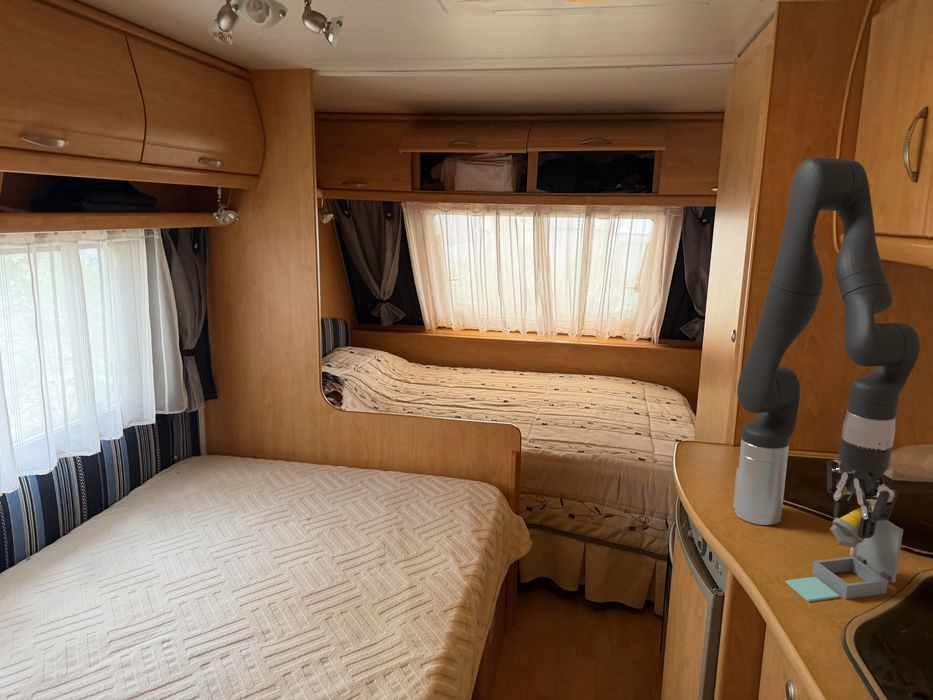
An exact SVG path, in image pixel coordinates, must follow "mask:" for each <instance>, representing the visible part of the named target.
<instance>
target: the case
mask: <svg viewBox="0 0 933 700" xmlns="http://www.w3.org/2000/svg"><path fill="white" fill-rule="evenodd" d="M871 511H872V510H871V509H870V510H869V512H871ZM903 534H904V529H903V528H901V527H899V526H897V525H896V524H894V523H893V522H891V521H889V520H881V521H876V527H875V533H874V535H873V536H872V537H871V538H865V539H864V540H863V541H862V543H858V544H857V545H856V546H855V548H853V547H850V555H849V556H846V557H845V556H844V557H837V558H829V559H821V560H819V559H818V560H814V561H813V564H812V565H813V566H812V575H814V577H816V578H818V579H819V580H820V581H821V582H823V583H824V584H825V585H827V586H828V587H829V588H830V589H832V590H833V591H834V592H836V593H837V594H838V595H839V596H841V597H842V598H843V599H845V600H848V599H849V600H850V599H857V598H864V597H871V596H878V595H885V594H886V595H887V592H888V585H889V582H890V583H893V584H895V583H896V582H897V581H896V580H897V576H898V575H897V573H898V567H899V563H900V562H899V560H900V555H901V550H902V540H903V537H904V536H903ZM849 571H850V572H852V573H853V574H855V575H856V576H858V577H859V578H860V579H862V580H863V581H858V582H851V583H847V582H846V581H845V580H843V578H841V577H839V576H838V575H837V574H835V573H842V572H849Z"/></svg>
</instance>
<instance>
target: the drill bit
mask: <svg viewBox="0 0 933 700" xmlns="http://www.w3.org/2000/svg"><path fill="white" fill-rule="evenodd" d="M869 510H870V511H871V505H869ZM861 517H863V516H862V510H861V507H858V508H855V509H854V510H852V511H850V512H848V514H846V515H845V516H843V517H841V518H835V519H834V518H833V521H832V522H831V524H832V525H831V527H830V528H829V530H830V531H831V533H832V535H833V536H834V537H835V539H836V540H837V542H838V543H837V544H836V545H837V546H842V547H848V548H851V547H853V548H855V546H856V545H857V544H858V545H859V543H862V541H863V540H864V539H865V538H864V539H863V538H861V537H860V536H859V535H858V534H859V527H860V521H861Z"/></svg>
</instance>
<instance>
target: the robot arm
mask: <svg viewBox="0 0 933 700" xmlns="http://www.w3.org/2000/svg"><path fill="white" fill-rule="evenodd" d="M870 190H871V189H870V184H869V180H868V175H867V172H866V169H865V168H864V166H863V165H862V164H861V163H860V162H859V161H857V160H855V159H849V158H831V157H815V156H814V157H809V158H807V159H805V160H804V161H802V163H801V164H800V165H799V166H798V168H797V169H796V171H795V174H794V175H793V179H792V183H791V186H790V190H789V196H788V201H787V208H786V213H785V219H784V226H783V231H782V235H781V239H780V240H781V241H780V244H779V245H780V246H779V248H778V253H777V256H776V261H775V264H774V266H773V267H774V268H773V272H772V274H771V277H770V281H769V285H768V287H767V291H766V295H765V299H764V304H763V308H762V311H761V315H760V319H759V322H758V325H757V329H756V333H755V336H754V337H753V340H752V341H753V342H752V344H751V347H750V349H749V352H748V354H747V358H746V359H745V362H744V365H743V367H742V370H741V372H740V376H739V378H738V382H737V389H736V391H737V392H736V393H737V399H738V402H739V404H740V406H741V407H742V408H743V410H745V411H747V412H750V413H754V414H756V415H754V417H753V418H752V419H750V420H748V422H746V423H745V424H744V425H743V426H742V429H741V438H740V439H741V440H740V451H739V452H740V453H739V460H738V461H739V462H738V463H739V464H738V467H737V468H736V471H735V479H734V480H735V481H734V483H735V484H734V491H733V503H732V508H733V509H734V513H735V515H736V516H737V518H740V519H741V520H743V521H745V522H747V523H750V524H754V525H760V526H773V525H776V524H779V523H780V522H781V521H782V512H783V504H784V495H785V486H786V485H785V484H786V476H787V475H786V474H787V465H788V457H789V447H790V440H791V437H792V435H793V434H794V432H795V429H796V424H797V419H798V413H799V412H798V411H799V406H800V400H801V385H800V380H799V378H798V376H797V374H796V373H795V372H794V370H793V369H791V368H790V367H788V366H784V365H780V364H781V362H782V359H783V357H784V355H785V354H786V352H787V351H788V349H789V348H790V346H791V345H792V344H793V343H794V342H795V340H797V338H798V337H799V336H800V334H801V333H802V332H803V331H804V330H805V328H806V327H807V326H808V325H809V323H810V322H811V321H812V319H813V318H814V315H815V313H816V310H817V307H818V304H819V301H820V297H821V295H822V291H823V288H824V287H823V286H824V274H823V269H822V266H821V263H820V260H819V258H818V254H817V251H816V248H815V247H816V246H815V239H814V238H815V237H814V236H815V229H816V224H817V219H818V216H819V213H820V211H825V212H826V211H829V212H830V211H831V212H836V213H837V215H838V216H839V217H840V221H841V223H842V227H843V238H842V242H841V246H840V248H839V252H838V254H837V258H836V262H835V276H836V282H837V285H838V288H839V291H840V295H841V299H842V302H843V304H844V337H843V338H844V340H843V341H844V342H843V343H844V349H845V352H846V354H847V356H848V358H850V360H852V362H853V363H855V364H856V365H858V366H860V367H875V368H874V370H873V371H872V372H871V373H870V374H866V375H864V376H861V377H857V378H855V379H854V380H853V381H852V383H851V386H850V391H849V396H848V404H847V410H846V414H845V417H844V420H843V424H842V431H841V438H840V444H839V451H838V459H831V460H827V461H826V490H827V493H829V494H832V495H833V500H834V506H833V520H834V519H835V518H841V517H843V516H845V515H846V514H849V510H850V503H851V502H850V499H851V498H852V497H853V495H855V496H856V499H857V504H858V505H859V506H860V508H861V510H862V516H863V517H861V521H860V527H859V534H858V535H859V536H860V537H861V538H863V539H864V538H871V537H872V536H873V535H874V533H875V527H876V521H881V520H887V521H889V520H890V517H891V514H892V513H893V509H894V508H895V504H896V503H897V499H898V497H899V492H898V490H896V489H890V488H889V487H888V486H886V485H885V479H884V475H885V473H886V471H888V469H889V468H890V464H891V457H892V453H893V446H894V445H893V444H894V440H895V435H896V434H895V433H896V417H897V412H898V406H899V399H900V394H901V393H902V390H903V389H904V387H905V385H906V384H907V381H908V379H909V377H910V375H911V374H912V371H913V369H914V368H915V366H916V364H917V361H918V359H919V357H920V352H921V341H920V336H919V333H918V331H916V329H915V328H914V327H913V326H912V325H910V324H907V323H902V322H888V323H887V322H885V323H884V322H883V323H882V322H881V323H876V321H875V315H877V314H881V313H883V312H886V311H887V310H888V309H889V308H890V307H892V305H893V302H894V301H893V293H892V290H891V287H890V285H889V281H888V279H887V275H886V272H885V269H884V268H883V263H882V260H881V257H880V254H879V253H880V252H879V250H878V249H879V248H878V244H877V237H876V231H875V222H874V221H875V220H874V212H873V206H872V199H871V198H872V197H871V191H870ZM835 482H836V484H835ZM870 497H871V498H870ZM866 498H870V499H866ZM869 505H871V506H870V511H871V512H869Z"/></svg>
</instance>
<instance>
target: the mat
mask: <svg viewBox="0 0 933 700" xmlns="http://www.w3.org/2000/svg"><path fill="white" fill-rule="evenodd" d="M785 584H787V585H788V586H789V587H790V588H792V589H793V590H794V591H795V592H796V593H797V594H798V595H800V596H801V597H802V598H803V599H804V600H805V601H807V602H808V603H810V602H817V601H825V600H832V599H839V598H840V595H839V594H838V593H837V592H835V591H834V590H833V589H832V588H830V587H829V586H828V585H826V584H825V583H824V582H823V581H821V580H820V579H819V578H817V577H816V576H811V577H809V576H808V577H802V578H801V577H800V578H794V579H787V580H785Z"/></svg>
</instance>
